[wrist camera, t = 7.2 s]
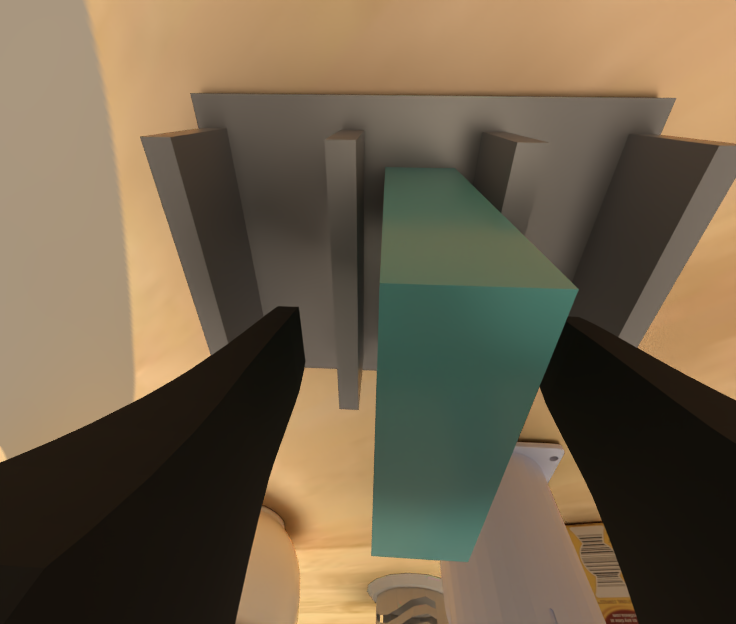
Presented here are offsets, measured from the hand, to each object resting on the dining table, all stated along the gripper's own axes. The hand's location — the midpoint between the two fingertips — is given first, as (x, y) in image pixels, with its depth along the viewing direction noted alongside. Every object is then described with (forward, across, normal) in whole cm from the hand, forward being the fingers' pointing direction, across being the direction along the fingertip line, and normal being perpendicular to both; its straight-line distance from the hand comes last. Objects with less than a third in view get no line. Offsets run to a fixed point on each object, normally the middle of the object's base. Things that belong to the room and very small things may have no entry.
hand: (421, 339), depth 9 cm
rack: (+6, 0, 0) cm, 6 cm away
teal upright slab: (+5, 0, 0) cm, 5 cm away
